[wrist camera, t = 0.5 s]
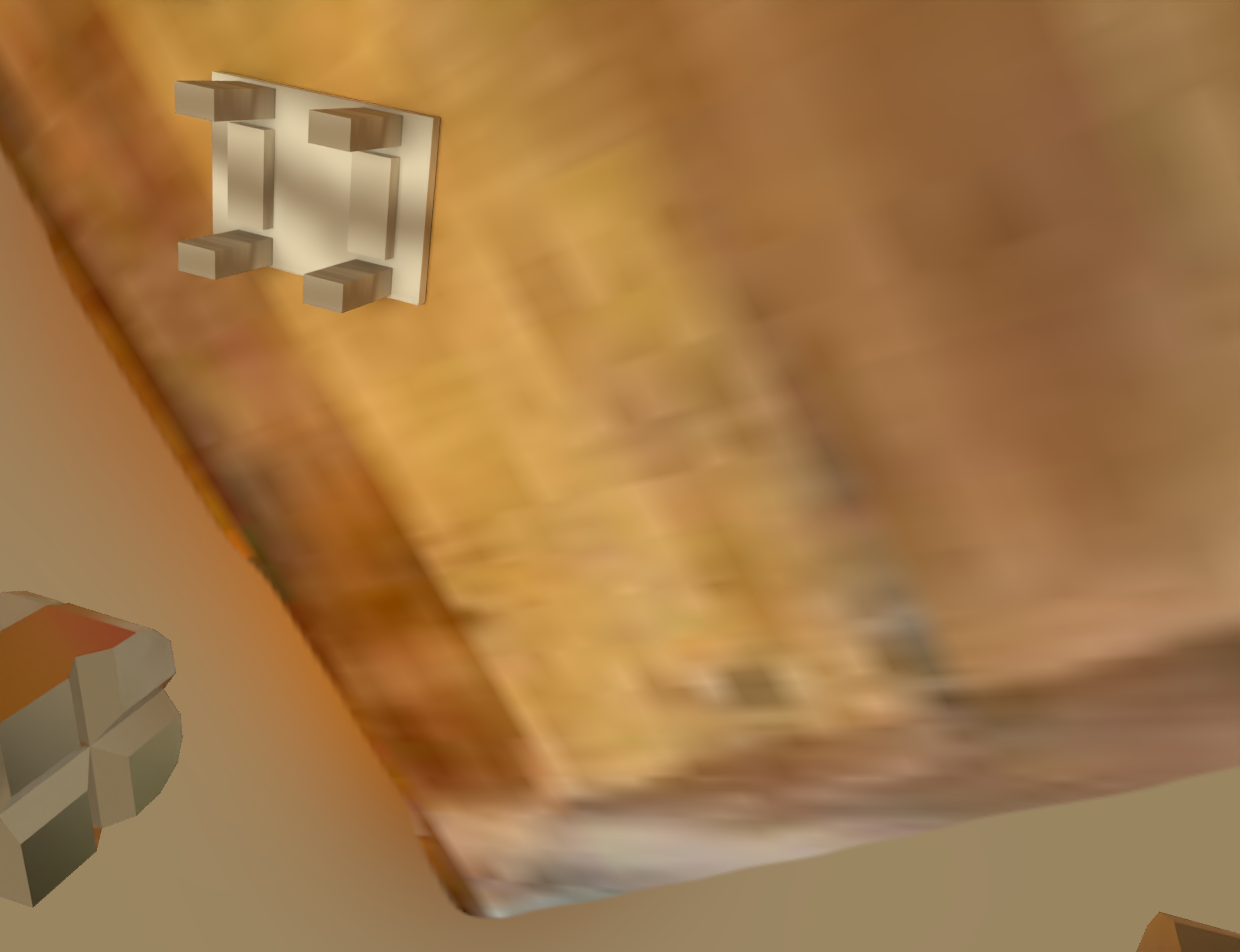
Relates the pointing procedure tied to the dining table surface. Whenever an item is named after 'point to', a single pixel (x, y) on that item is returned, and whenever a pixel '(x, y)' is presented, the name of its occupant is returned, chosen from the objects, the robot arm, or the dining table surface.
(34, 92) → the dining table surface
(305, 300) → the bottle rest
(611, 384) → the dining table surface
